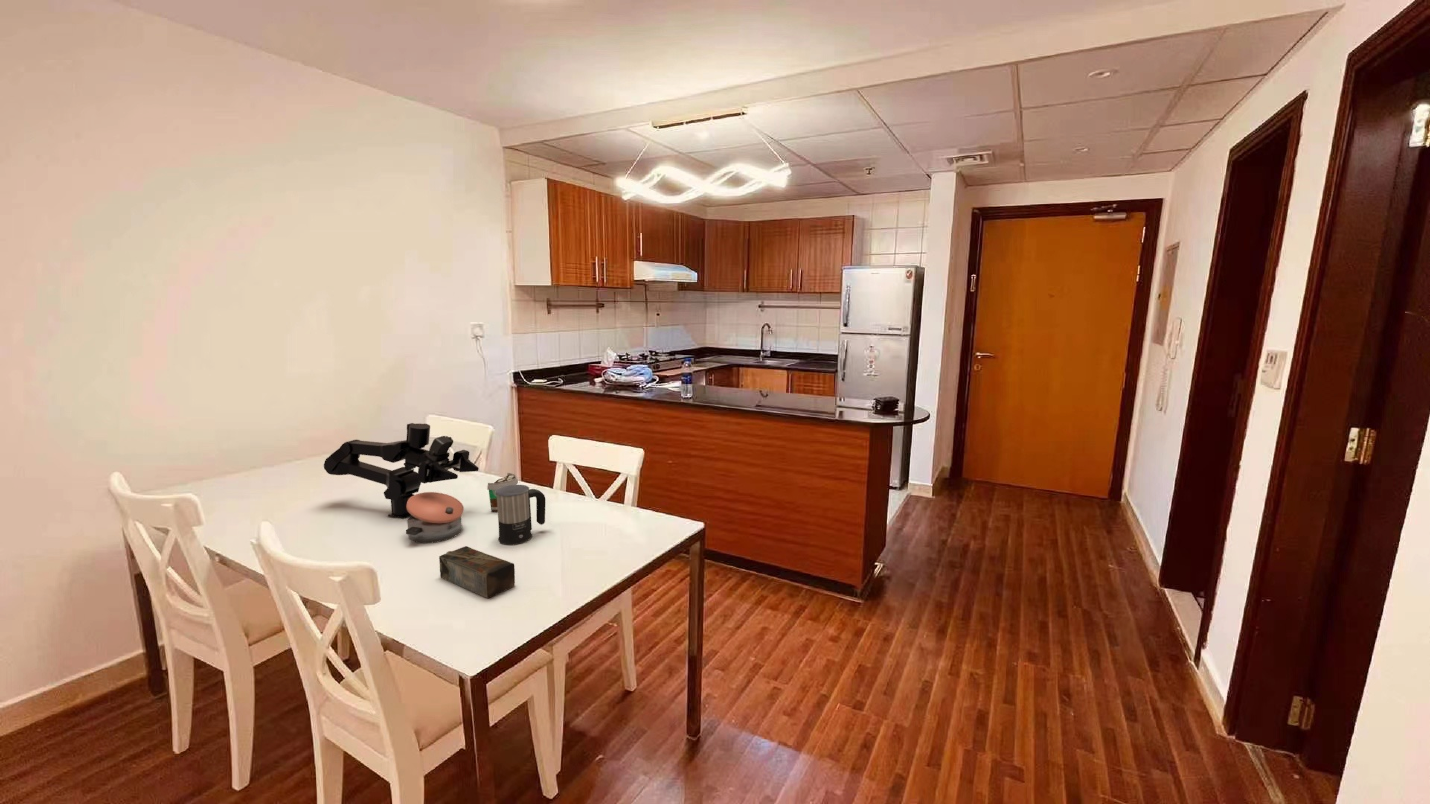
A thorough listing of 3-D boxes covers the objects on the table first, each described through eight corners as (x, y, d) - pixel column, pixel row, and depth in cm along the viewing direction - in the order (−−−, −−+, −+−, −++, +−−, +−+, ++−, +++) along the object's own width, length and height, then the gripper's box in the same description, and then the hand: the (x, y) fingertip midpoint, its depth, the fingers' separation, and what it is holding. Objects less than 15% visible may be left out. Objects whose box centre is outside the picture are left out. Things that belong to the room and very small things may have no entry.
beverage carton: (468, 566, 146) (466, 542, 145) (517, 586, 136) (516, 561, 135) (439, 578, 139) (437, 553, 138) (488, 601, 129) (487, 574, 128)
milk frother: (512, 548, 156) (509, 497, 154) (476, 535, 165) (473, 486, 162) (551, 531, 168) (550, 483, 166) (516, 520, 176) (514, 474, 174)
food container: (506, 515, 180) (504, 485, 179) (488, 513, 181) (486, 483, 180) (526, 502, 192) (525, 473, 190) (509, 500, 193) (508, 472, 192)
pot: (390, 543, 158) (388, 526, 157) (437, 518, 176) (436, 503, 175) (433, 549, 155) (432, 531, 154) (477, 523, 173) (476, 508, 172)
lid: (393, 506, 158) (395, 500, 158) (432, 489, 173) (433, 484, 172) (438, 529, 156) (440, 523, 155) (473, 510, 170) (475, 504, 170)
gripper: (403, 440, 164) (449, 454, 160) (449, 429, 181) (491, 441, 178) (400, 476, 166) (444, 491, 162) (445, 462, 183) (486, 475, 180)
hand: (468, 473), depth 170 cm, fingers open, 9 cm apart
